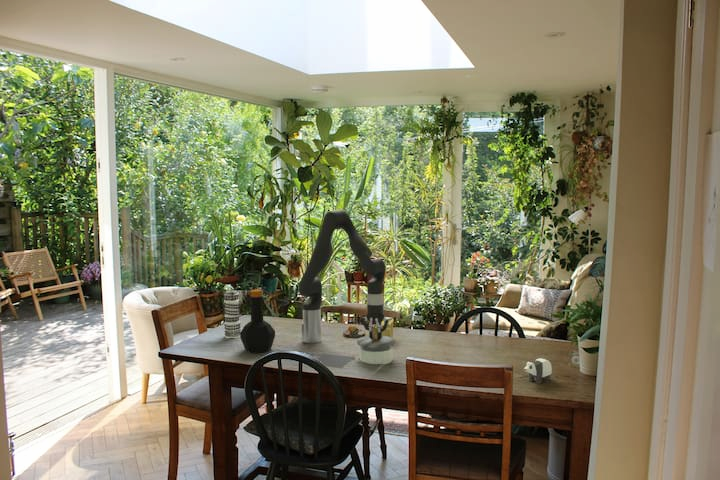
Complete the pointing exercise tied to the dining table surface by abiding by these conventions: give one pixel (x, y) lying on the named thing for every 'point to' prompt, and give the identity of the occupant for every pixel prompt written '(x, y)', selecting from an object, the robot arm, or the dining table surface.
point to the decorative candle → (231, 314)
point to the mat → (335, 360)
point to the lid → (375, 340)
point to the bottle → (257, 327)
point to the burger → (353, 332)
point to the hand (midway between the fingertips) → (375, 339)
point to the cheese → (387, 329)
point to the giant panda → (538, 370)
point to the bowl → (376, 355)
